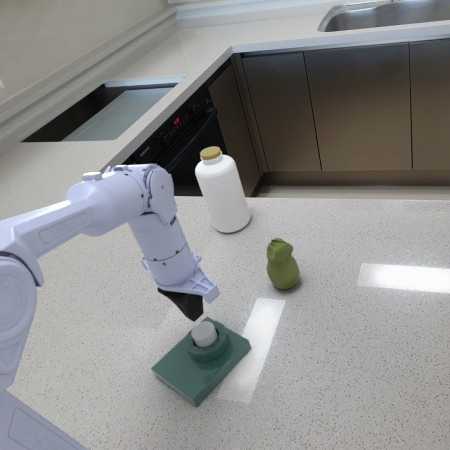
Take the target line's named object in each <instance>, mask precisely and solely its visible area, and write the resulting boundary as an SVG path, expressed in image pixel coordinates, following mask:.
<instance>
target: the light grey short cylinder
mask: <svg viewBox="0 0 450 450" xmlns="http://www.w3.org/2000/svg"><path fill="white" fill-rule="evenodd" d="M191 329H192V332H191V335H192V338H193V340H194V342H195V344H196V345H197V346H198V347H200V348H206V347H209V346H211V345H213V344H214V343H215V342H216V340H217V337H218V334H217V332H216V329H215V327H214V325H213V324H212V323H211V322H209V321H203V322H201V321H200V322H198V323H196V324H195V325H194V326H193V327H192V328H191Z"/></svg>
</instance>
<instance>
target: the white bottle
mask: <svg viewBox="0 0 450 450" xmlns="http://www.w3.org/2000/svg"><path fill="white" fill-rule="evenodd" d="M199 155H200V160H201V161H199V162H198V163H197V165H196V166H195V169H194V172H195V173H194V174H195V177H196V180H197V183H198V185H199V189H200V191H201V194H202V197H203V200H204V202H205V205H206V208H207V211H208V214H209V217H210V219H211V222H212V225H213V227H214V228H215V230H216V231H218V232H220V233H224V234H225V233H226V234H228V233H229V234H231V233H234V232H238V231H240V230H242V229H243V228H245V227H246V226H247V225H248V223H249V222H250V219H251V213H250V209H249V206H248V202H247V198H246V196H245V195H246V194H245V192H244V189H243V184H242V181H241V177H240V175H239V171H238V168H237V163H236V161H235V160H234V158H233V157H231V156H229V155H227V154H223V151H222V150H221V148H220V147H219V146H214V145H213V146H209V147H205V148H204V149H202V150H201V151H199Z"/></svg>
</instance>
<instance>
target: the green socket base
mask: <svg viewBox="0 0 450 450" xmlns="http://www.w3.org/2000/svg"><path fill="white" fill-rule="evenodd" d="M203 321H209V322H211V323H212V324H213V325H214V327H215V329H216V332H217V334H218V337H217V340H216V342H215V343H214V344H213V345H211V346H209V347H206V348H200V347H198V346H197V345H196V344H195V342H194V340H193V338H192V335H191V332H192V329H193V328H191V329H190V330H189V331H188V332H187V334H186V335H185V336H184V337H183V338H182V339H180V341H178V342H177V343H176V345H174V346H173V347H172V348H171V349H170V350H169V351H167V353H166V354H164V356H162V358H160V359H159V360H158V361H157V362H156V363H155V364H154V365H153V366H152V367H150V370H151V372H152V374H153V375H154V377H156V378H157V379H159V380H160V381H161V382H163V383H164V384H165V385H167V387H168V388H169V387H170V388H171V389H172V390H173V391H175V392H176V393H177V394H179V395H180V396H181V397H183V398H184V399H185V400H187V401H188V402H189V403H191V404H192V405H193V406H195V407H198V406H199V405H200V404H201V403H203V401H204V400H205V399H206V397H207V396H208V395H210V393H212V391H213V390H214V389H215V388H216V387H217V386H218V385H219V384H220V382H222V381H223V379H224V378H225V377H227V375H228V374H229V373H230V372H231V371H232V370H233V369H234V368H235V366H236V365H238V363H239V362H240V361H241V360H242V359H243V358H244V357H245V356H247V354H248V353H249V351H250V350H252V346H251V343H250V342H251V341H250V340H249V339H247V338H246V337H244V336H242V335H240V334H239V333H237V332H235V331H233V330H231V329H229V327H226V326H225V324H223V323H222V322H221V321H218V320H214V319H213V318H211V317H209V316H205V317H204V318H203V319H202V320H201V321H200V322H203Z"/></svg>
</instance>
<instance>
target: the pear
mask: <svg viewBox="0 0 450 450" xmlns="http://www.w3.org/2000/svg"><path fill="white" fill-rule="evenodd" d="M293 251H294V246H293V244H291V243H289V242H287V241H285V240H284V239H282V238H280V237H275V238H271V241H270V242H269V243H267V247H266V259H267V264H266V273H267V277H268V278H269V280H270V282H271V283H272V284H273V285H274V286H275V287H277V288H278V289H280V290H288V289H291V288H292V287H294V286H295V285H296V284H297V283H298V281H299V279H300V277H301V276H300V275H301V271H300V268H299V265H298V262H297V260H296V259H295V257H294V256H293Z"/></svg>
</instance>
